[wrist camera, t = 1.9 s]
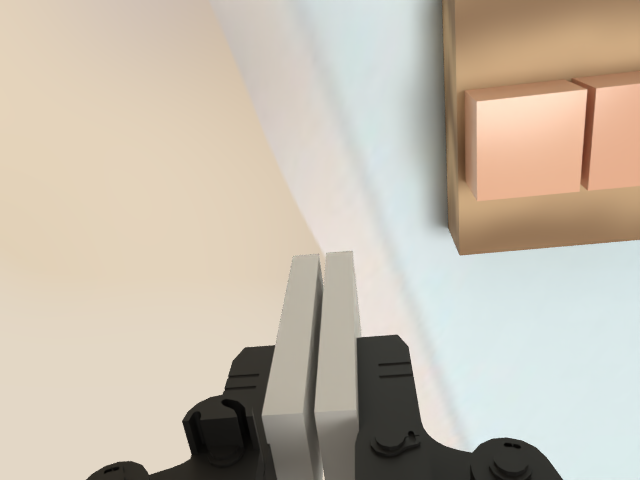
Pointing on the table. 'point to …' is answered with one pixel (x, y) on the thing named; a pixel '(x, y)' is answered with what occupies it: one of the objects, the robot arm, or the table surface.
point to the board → (529, 67)
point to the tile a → (524, 139)
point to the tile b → (611, 131)
